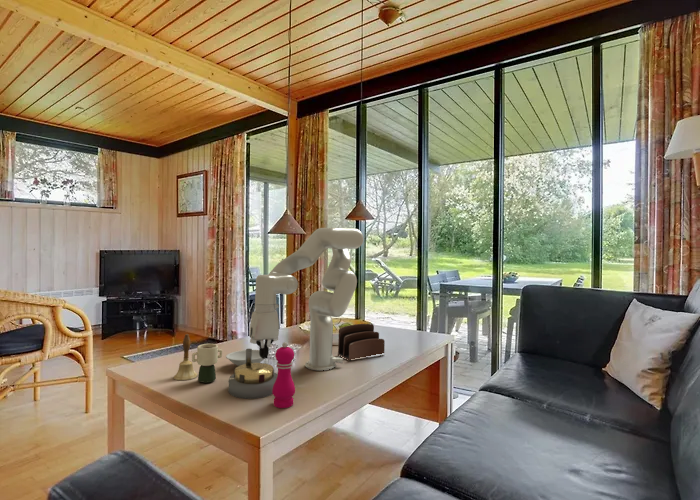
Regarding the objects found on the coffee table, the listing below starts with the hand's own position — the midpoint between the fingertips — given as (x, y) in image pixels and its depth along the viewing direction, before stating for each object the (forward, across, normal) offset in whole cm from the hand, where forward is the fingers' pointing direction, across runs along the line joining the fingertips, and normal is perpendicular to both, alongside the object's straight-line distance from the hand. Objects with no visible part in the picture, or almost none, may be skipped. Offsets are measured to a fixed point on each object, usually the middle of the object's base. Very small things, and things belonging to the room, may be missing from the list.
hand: (263, 357), depth 145 cm
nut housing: (+9, +6, +6) cm, 12 cm away
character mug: (+9, +17, -10) cm, 22 cm away
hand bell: (+9, +23, -19) cm, 31 cm away
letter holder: (+9, -52, -8) cm, 53 cm away
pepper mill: (+9, +3, +23) cm, 25 cm away
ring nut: (+5, +6, +6) cm, 9 cm away
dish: (+9, -2, -19) cm, 21 cm away
